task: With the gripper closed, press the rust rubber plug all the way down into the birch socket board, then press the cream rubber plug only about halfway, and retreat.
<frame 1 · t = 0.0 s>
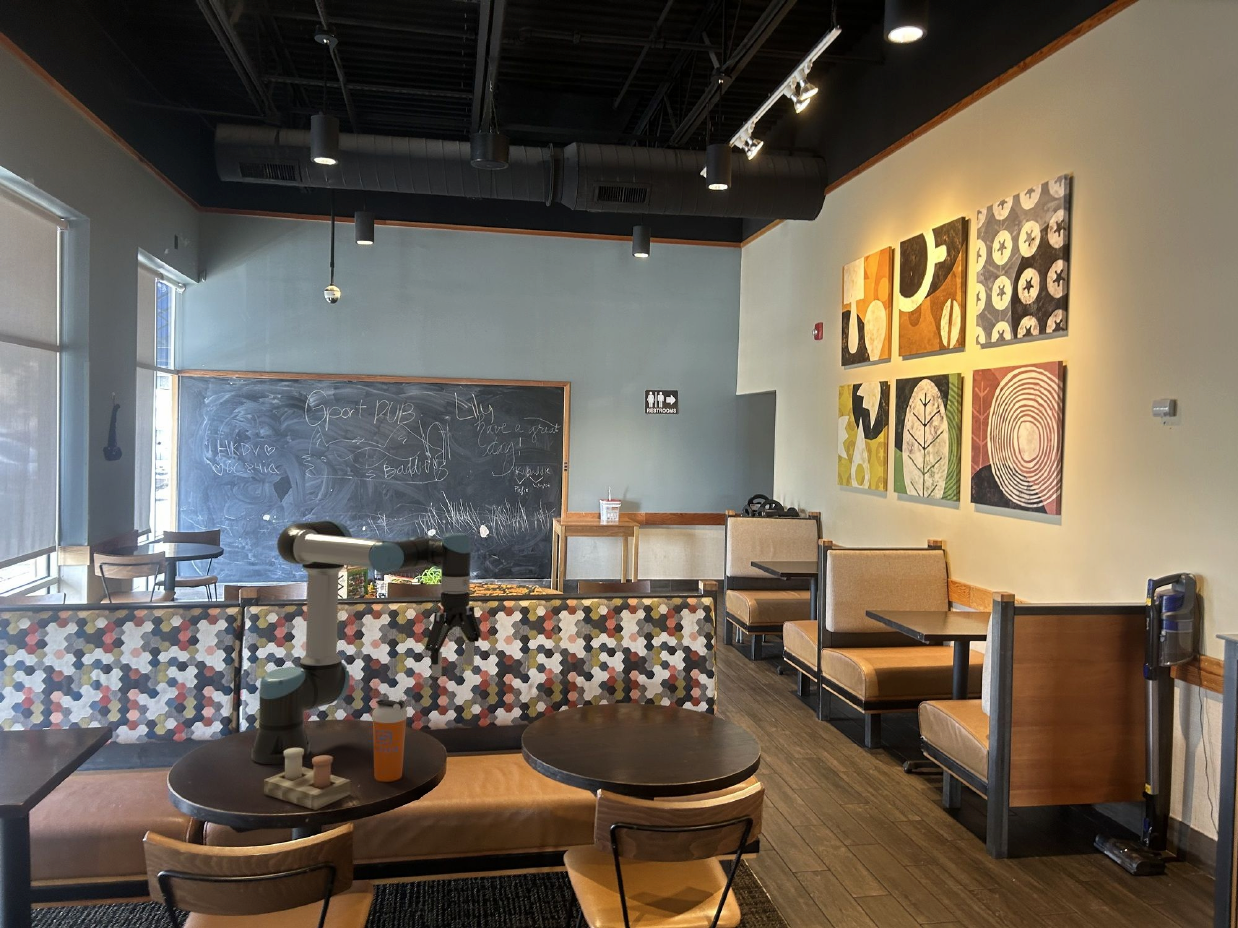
hand: (453, 670, 226), 28 cm above the table, fingers open, 13 cm apart
socket board: (307, 793, 211), on the table
plug rust: (322, 772, 209), point 6 cm above the table, slide at 0.0 cm
plug cream: (293, 764, 213), point 6 cm above the table, slide at 0.0 cm
shaker bottle: (388, 777, 224), on the table
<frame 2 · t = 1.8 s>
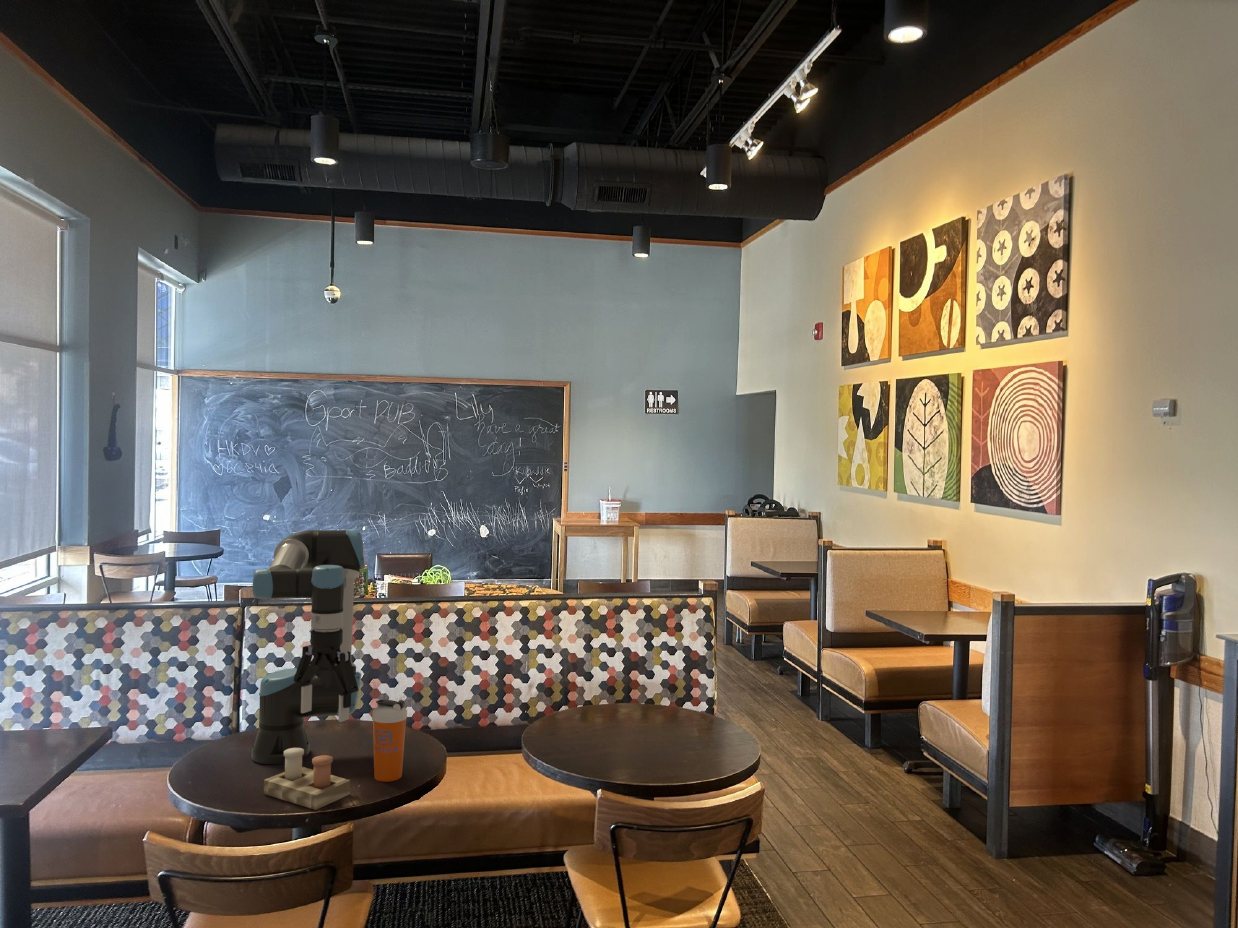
hand: (324, 715, 209), 20 cm above the table, fingers open, 12 cm apart
nothing on the table moved.
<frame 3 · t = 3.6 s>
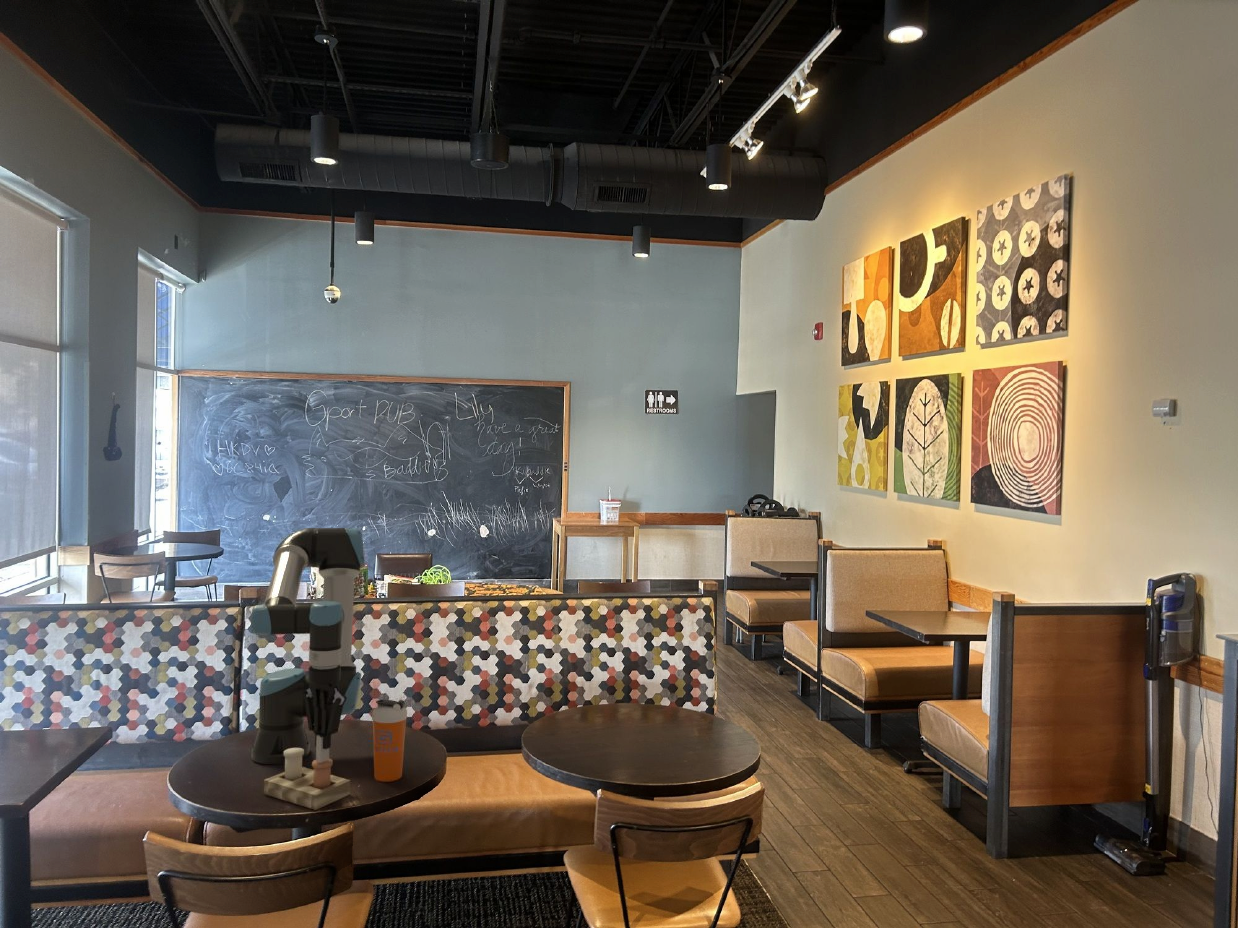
hand: (322, 760, 209), 9 cm above the table, fingers closed
plug rust: (322, 775, 209), point 6 cm above the table, slide at 0.7 cm, touching gripper
everything else where it was.
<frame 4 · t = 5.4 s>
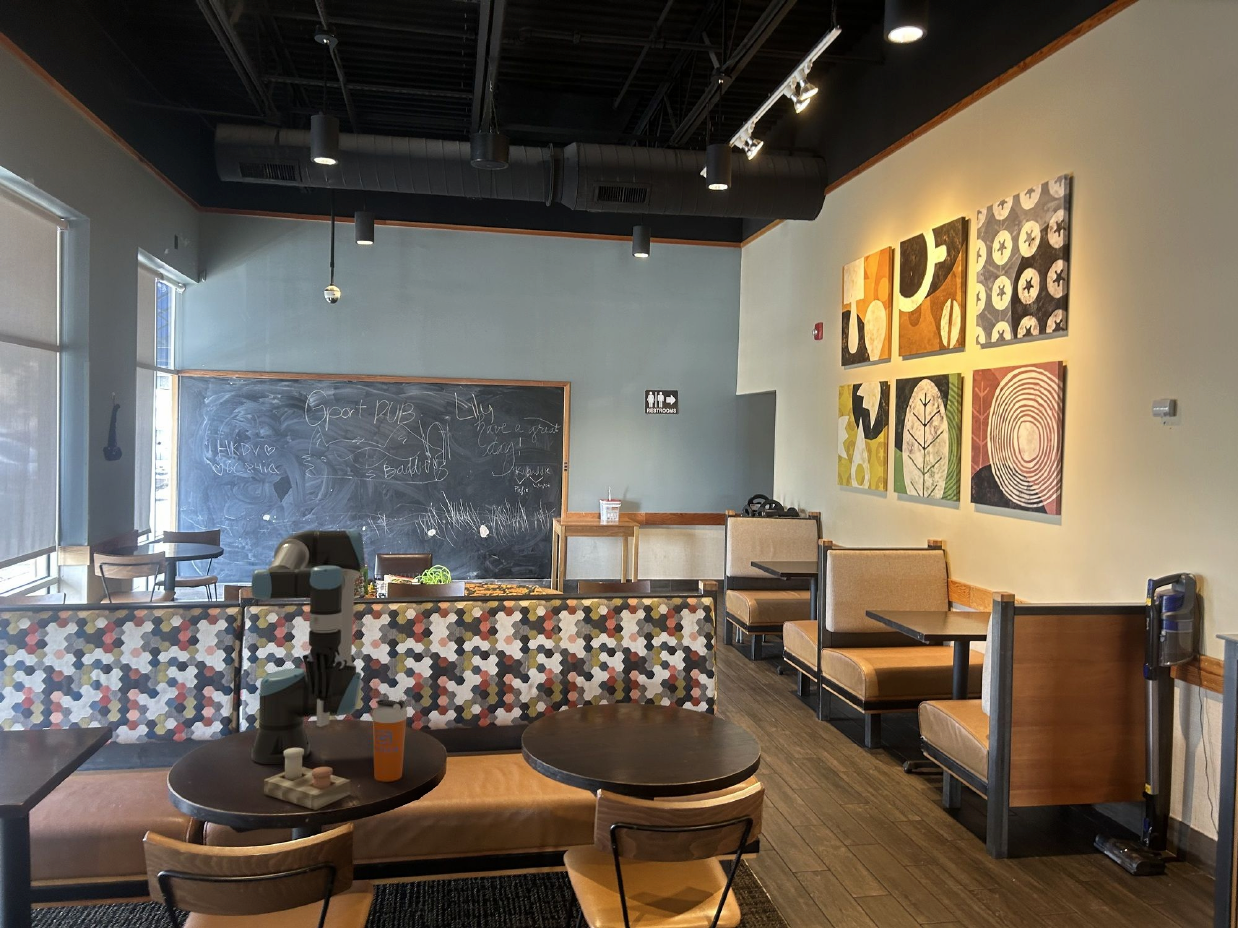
hand: (322, 724, 209), 18 cm above the table, fingers closed
plug rust: (321, 783, 209), point 4 cm above the table, slide at 2.9 cm
everything else where it was.
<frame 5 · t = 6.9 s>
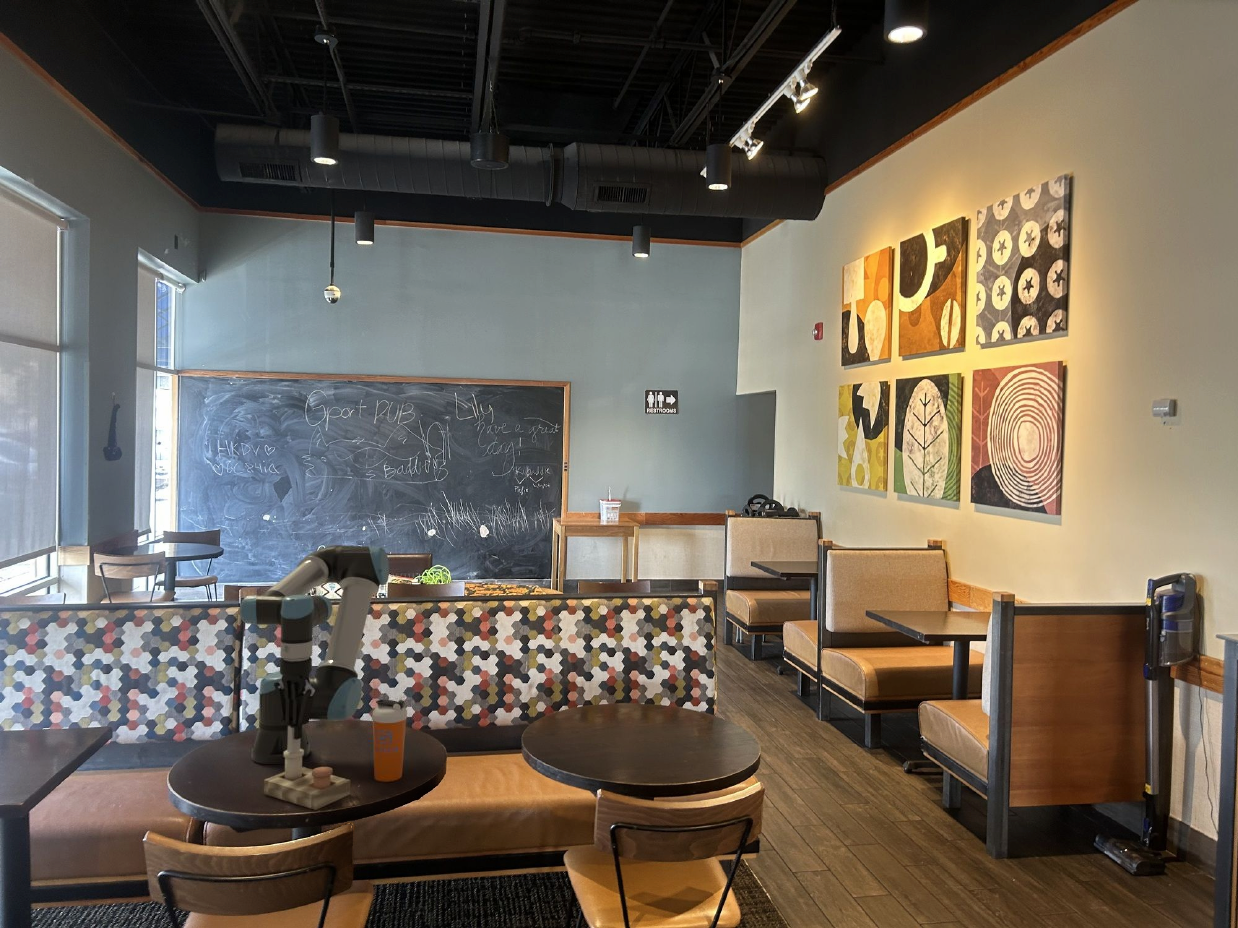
hand: (293, 750, 213), 10 cm above the table, fingers closed
plug cream: (293, 765, 213), point 6 cm above the table, slide at 0.2 cm, touching gripper
everything else where it was.
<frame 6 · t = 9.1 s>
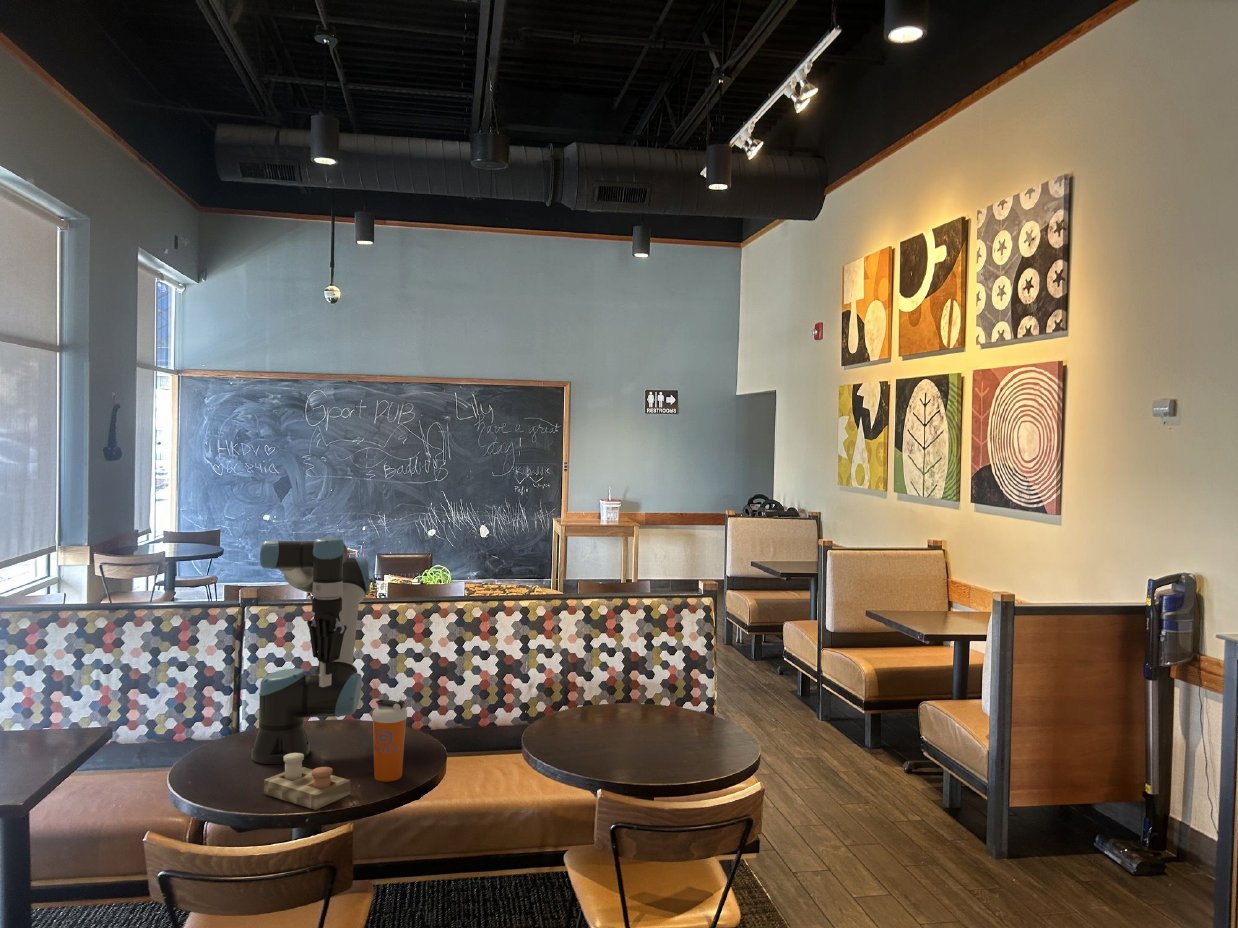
hand: (325, 685, 224), 24 cm above the table, fingers closed
plug cream: (293, 769, 213), point 5 cm above the table, slide at 1.3 cm
everything else where it was.
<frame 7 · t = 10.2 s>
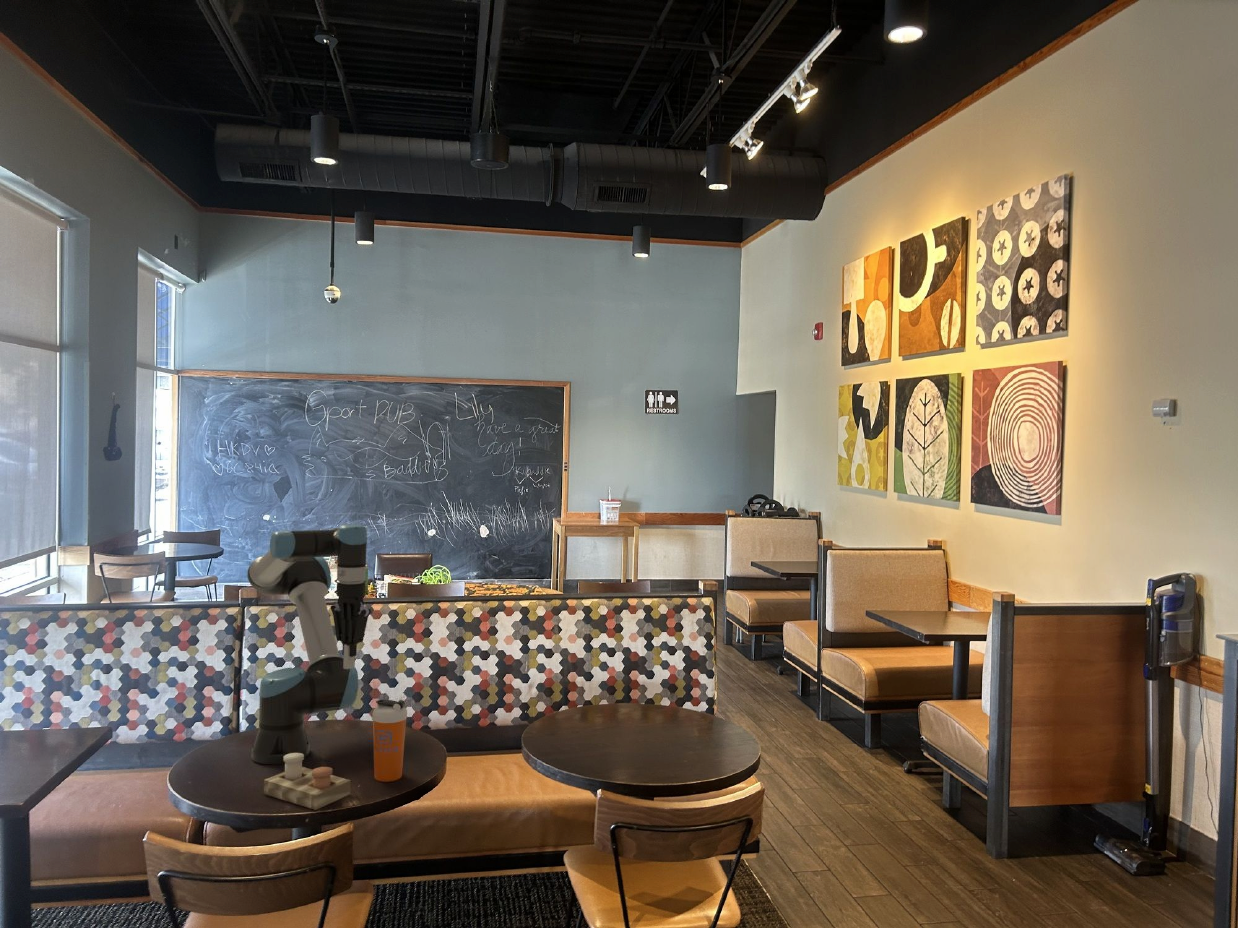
hand: (349, 667, 232), 26 cm above the table, fingers closed
nothing on the table moved.
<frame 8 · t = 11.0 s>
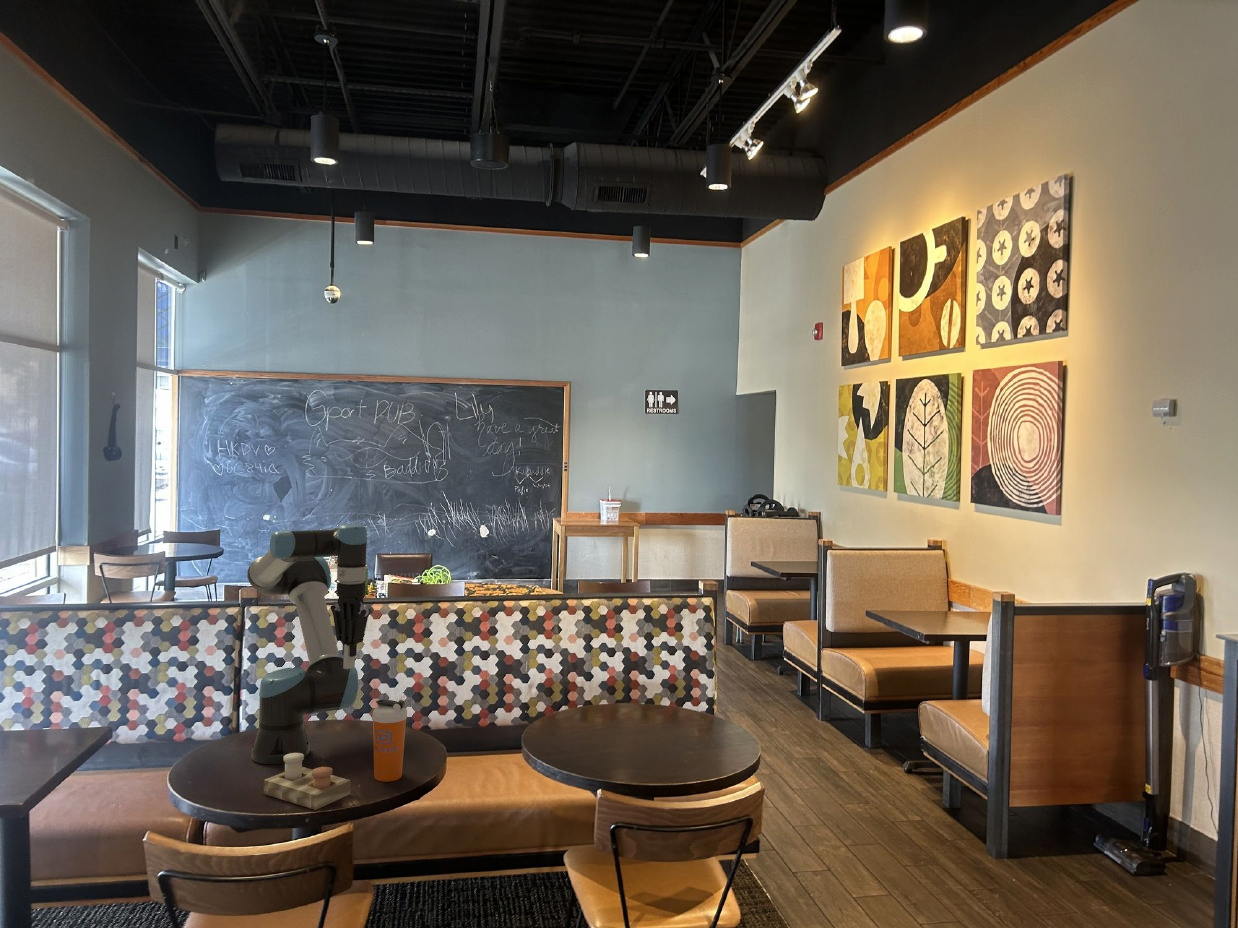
hand: (349, 667, 232), 26 cm above the table, fingers closed
nothing on the table moved.
at the end: plug rust slide at 2.9 cm; plug cream slide at 1.3 cm; plug cream touching nothing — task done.
